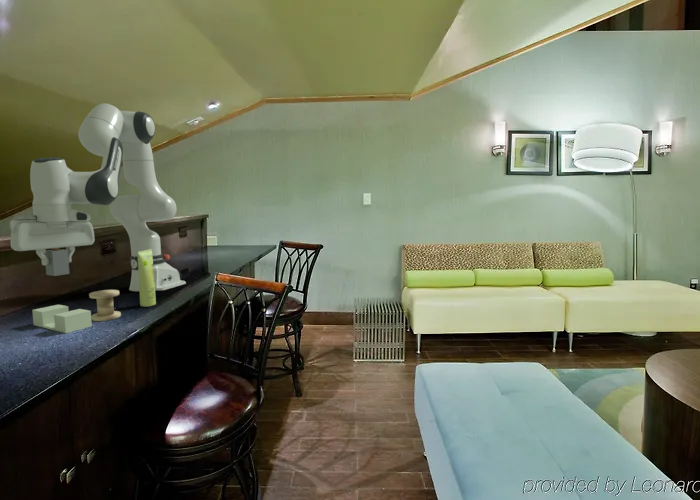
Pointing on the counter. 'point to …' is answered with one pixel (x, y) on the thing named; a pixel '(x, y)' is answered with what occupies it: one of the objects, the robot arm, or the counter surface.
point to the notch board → (62, 318)
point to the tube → (146, 278)
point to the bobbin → (105, 305)
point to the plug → (57, 262)
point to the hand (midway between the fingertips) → (57, 263)
